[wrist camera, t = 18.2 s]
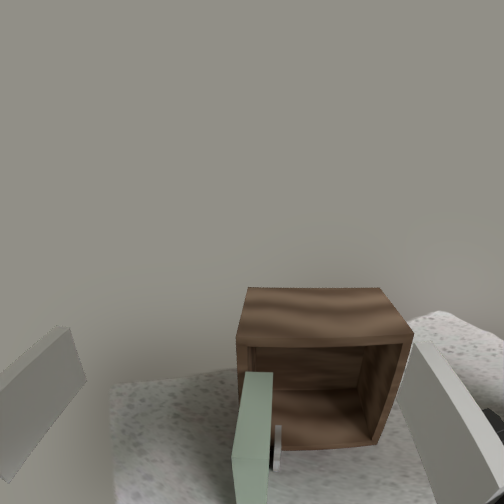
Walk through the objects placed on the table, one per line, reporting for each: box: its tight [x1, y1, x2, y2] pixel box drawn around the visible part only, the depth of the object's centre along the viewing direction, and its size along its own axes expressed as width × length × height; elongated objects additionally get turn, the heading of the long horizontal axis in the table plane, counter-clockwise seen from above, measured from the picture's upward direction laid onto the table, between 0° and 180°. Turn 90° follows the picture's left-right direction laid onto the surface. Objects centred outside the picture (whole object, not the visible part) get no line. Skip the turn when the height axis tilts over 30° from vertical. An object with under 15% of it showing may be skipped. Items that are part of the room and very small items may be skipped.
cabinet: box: [236, 287, 414, 472], centre depth 38 cm, size 18×20×20 cm
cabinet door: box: [231, 372, 273, 504], centre depth 28 cm, size 12×3×16 cm, turn 175°
